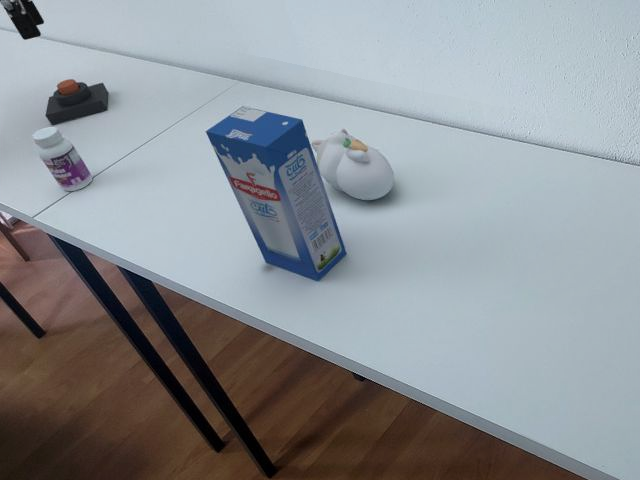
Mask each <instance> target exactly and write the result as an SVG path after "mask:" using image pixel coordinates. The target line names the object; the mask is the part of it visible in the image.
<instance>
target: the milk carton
mask: <svg viewBox="0 0 640 480" xmlns="http://www.w3.org/2000/svg"><path fill="white" fill-rule="evenodd" d="M303 120H304V119H302V118H298V117H294V116H289V115H285V114H281V113H280V114H279V113H276V112H271V111H267V110H262V109H258V108H254V107H253V108H252V107H249V106H244V105H242V106H241V107H239V108H238V109H237V110H235V111H234V112H232V113H231V114H229V115H228V116H226V117H225V118H223V119H222V120H220V121H218V122H217V123H216V124H214V125H213V126H211V127H209V128H208V129H207V130H206V131H205V133H206V136H207V138H208V140H209V142H210V144H211V146H212V148H213V151H214V152H215V155H216V157H217V159H218V163H219V164H220V166H221V168H222V170H223V172H224V175H225V177H226V179H227V181H228V184H229V186H230V188H231V190H232V192H233V194H234V196H235V199H236V201H237V203H238V205H239V208H240V210H241V212H242V215H243V217H244V219H245V221H246V223H247V225H248V227H249V229H250V231H251V234H252V237H253V238H254V240H255V242H256V245H257V247H258V249H259V251H260V253H261V255H262V257H263V260H264V262H265V263H266V264H269V265H272V266H274V267H277V268H280V269H283V270H285V271H288V272H291V273H294V274H296V275H299V276H302V277H305V278H307V279H310V280H313V281H315V282H319V281H320V280H322V279H323V278H324V276H326V275H327V274H328V273H329V272H330V271H331V270H332V269H333V268H334V267H335V266H336V265H337V264H338V263H339V262H340V261H341V260H342V259H343V258H345V256H346V255H348V253H347V250H346V247H345V243H344V241H343V238H342V234H341V232H340V229H339V226H338V223H337V220H336V217H335V214H334V211H333V208H332V206H331V202H330V198H329V196H328V193H327V189H326V187H325V184H324V180H323V177H322V176H321V174H320V172H319V169H318V166H317V159H316V157H315V154H314V151H313V147H312V145H311V142H310V139H309V136H308V132H307V130H306V127H305V124H304V121H303Z"/></svg>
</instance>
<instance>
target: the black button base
mask: <svg viewBox="0 0 640 480" xmlns="http://www.w3.org/2000/svg"><path fill="white" fill-rule="evenodd" d="M76 83H77V85H78V86H79V88H80V89H79V90H77V91H76V92H73V93H71V94H67V95H62V94H61V93H60V91H59V89H58V88H56V90H55V91H54V92H53V94H52V95H51V96H48V101H47V105H46V111H45V117H46V119H47V120H48V122H49V123H50V125H51V126H54V125H58V124H62V123H65V122H70V121H73V120H76V119H80V118H83V117H87V116H90V115H95V114H98V113H102V112H105V111H108V105H109V91H108V89H107V88H106V85H105V84H104V82H99V83H96V84H92V85H88V84H87V83H86V82H83V81H79V82H77V81H76Z"/></svg>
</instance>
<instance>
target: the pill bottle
mask: <svg viewBox="0 0 640 480" xmlns="http://www.w3.org/2000/svg"><path fill="white" fill-rule="evenodd" d="M32 139H33V141H34V143H35V144H36V145H37V146H38V149H37V154H38V156H39V158H40V160H42V163H44V165H45V167H46V168H47V169H48V170H49V172H50V174H51V175H52V177H53V178H54V179H55V181H56V182H57V184H58V185H59V187H60V188H61V189H62V190H63V191H66V192H75V191H79V190H81V189H84V188H85V187H86V188H87V186H89V185H90V184H91V183H92V181H93V175H92V173H91V171H90V169H89V168H88V166H87V165H86V163H85V162H84V160H83V158H82V156H81V155H80V154H79V152H78V151H77V149H76V148H75V145H74V144H73V143H72V141H71V140H70V139H68V138H66V137H63V135H62V133H61V132H60V129H58V127H56V126H47V127H44V128H41V129H38V130H37V131H35V132H34V133H33V134H32Z"/></svg>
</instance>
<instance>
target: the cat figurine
mask: <svg viewBox="0 0 640 480" xmlns="http://www.w3.org/2000/svg"><path fill="white" fill-rule="evenodd" d="M310 145H311V148H312V150H313V149H314V151H315V153H316V163H317V166H318V169H319V172H320V175H321V178H322V179H323V180H325V182H327V184H329V185H330V186H331V187H333V188H335V189H336V190H338V191H342V192H344V193H345V194H346V195H348V196H350V197H352V198H354V199H358V200H363V201H373V200H378V199H380V198H382V197H384V196H385V195H388V193H389V192H390V191H392V188H393V185H394V182H395V175H394V169H393V167H392V165H391V163H390V162H389V160H388V159H387V158H386V156H385V155H384V154H383V153H382V152H381V151H379V150H378V149H376V148H374V147H372V146H370V145H366V144H365V143H364V142H362V141H361V140H360V139H358V138H357V137H355V136H353V135H351V134H349V133H348V131H347V130H346V129H345V128H342V129H341V131H334V132H332V133H331V134H330V135H328V137H327V138H326V139H314V140H313V141H311V142H310Z"/></svg>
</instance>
